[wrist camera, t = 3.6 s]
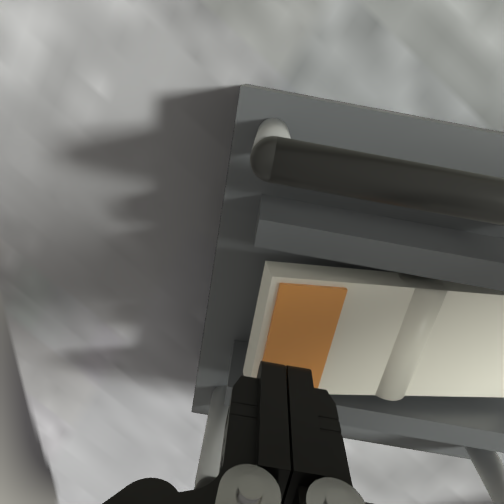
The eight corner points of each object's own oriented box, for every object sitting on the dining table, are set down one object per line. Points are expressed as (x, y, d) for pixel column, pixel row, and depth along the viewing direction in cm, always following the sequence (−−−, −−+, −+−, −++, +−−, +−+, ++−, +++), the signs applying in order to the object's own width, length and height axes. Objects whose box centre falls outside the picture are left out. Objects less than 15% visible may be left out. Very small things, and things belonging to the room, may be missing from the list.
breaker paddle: (535, 281, 17) (572, 304, 16) (489, 374, 19) (517, 402, 18) (263, 257, 15) (274, 280, 13) (241, 366, 17) (248, 398, 15)
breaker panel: (584, 147, 19) (875, 211, 10) (458, 406, 25) (563, 593, 16) (247, 83, 19) (221, 88, 9) (203, 362, 25) (162, 528, 16)
